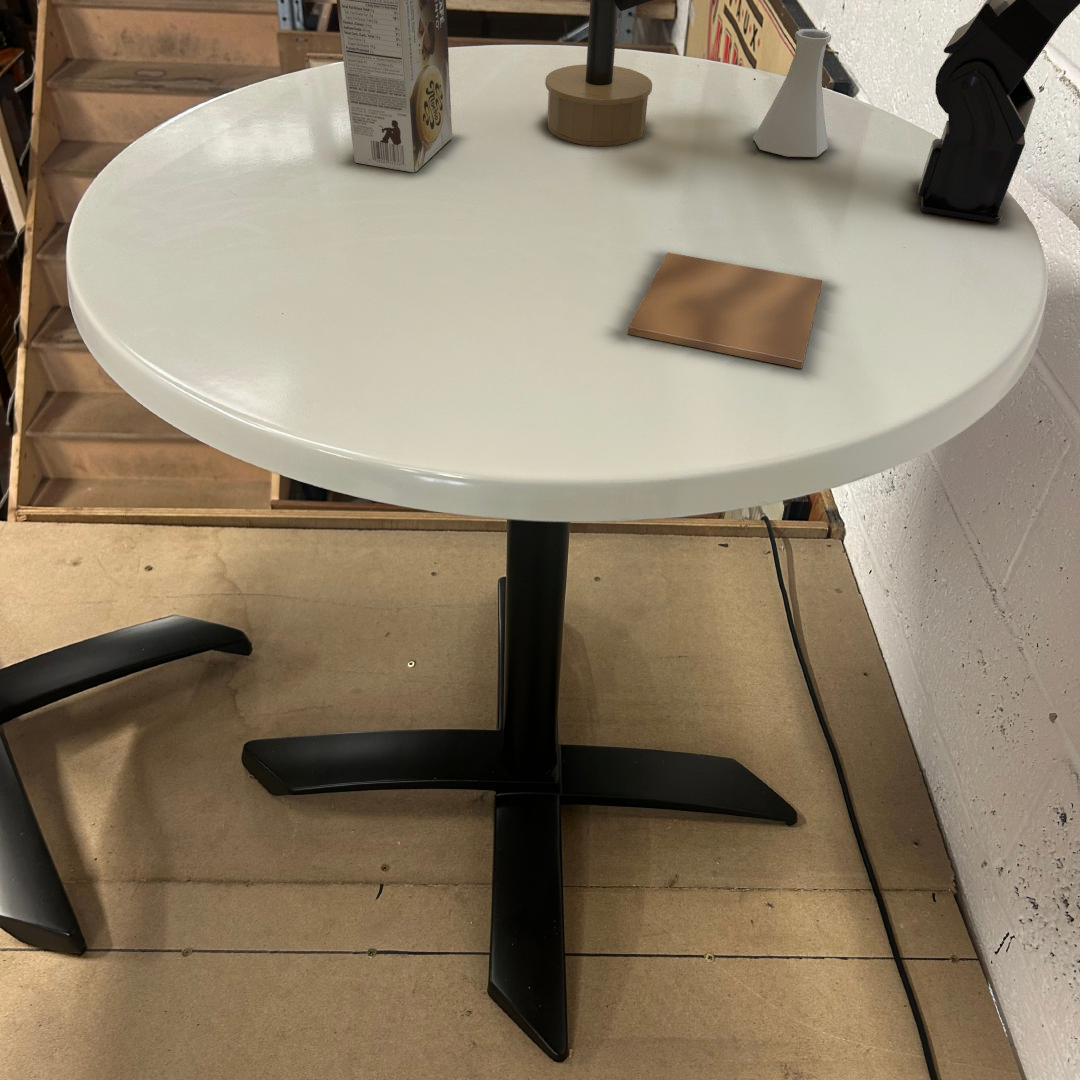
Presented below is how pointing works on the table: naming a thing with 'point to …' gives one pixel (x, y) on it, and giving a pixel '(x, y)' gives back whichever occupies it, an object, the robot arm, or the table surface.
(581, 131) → the tin
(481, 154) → the table surface
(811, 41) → the flask
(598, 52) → the tin lid
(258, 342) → the table surface
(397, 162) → the coffee box
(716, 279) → the cork mat
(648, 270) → the table surface
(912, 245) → the table surface
